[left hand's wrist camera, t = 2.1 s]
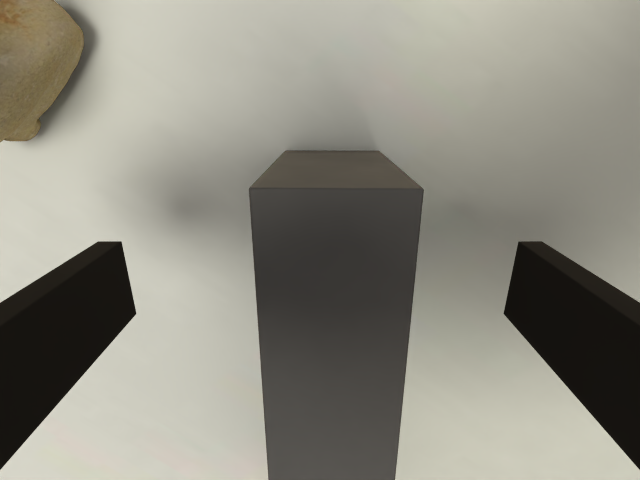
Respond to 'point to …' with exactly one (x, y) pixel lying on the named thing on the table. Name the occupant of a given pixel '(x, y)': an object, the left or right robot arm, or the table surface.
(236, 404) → the table surface
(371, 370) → the bar
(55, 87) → the sculpture
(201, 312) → the table surface
